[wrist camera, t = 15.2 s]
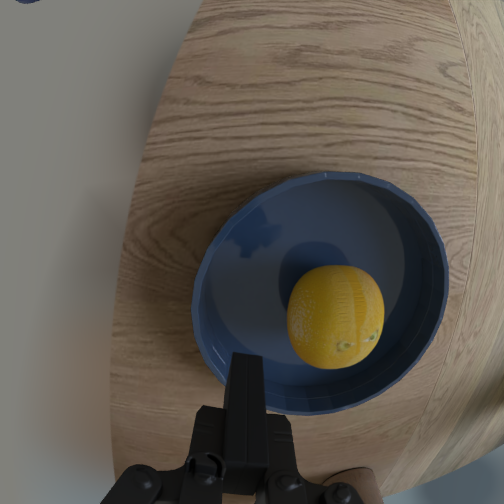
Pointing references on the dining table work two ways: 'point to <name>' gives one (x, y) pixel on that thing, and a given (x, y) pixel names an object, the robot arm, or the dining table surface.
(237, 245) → the bowl
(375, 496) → the tall ceramic vase
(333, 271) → the fruit
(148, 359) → the dining table surface
